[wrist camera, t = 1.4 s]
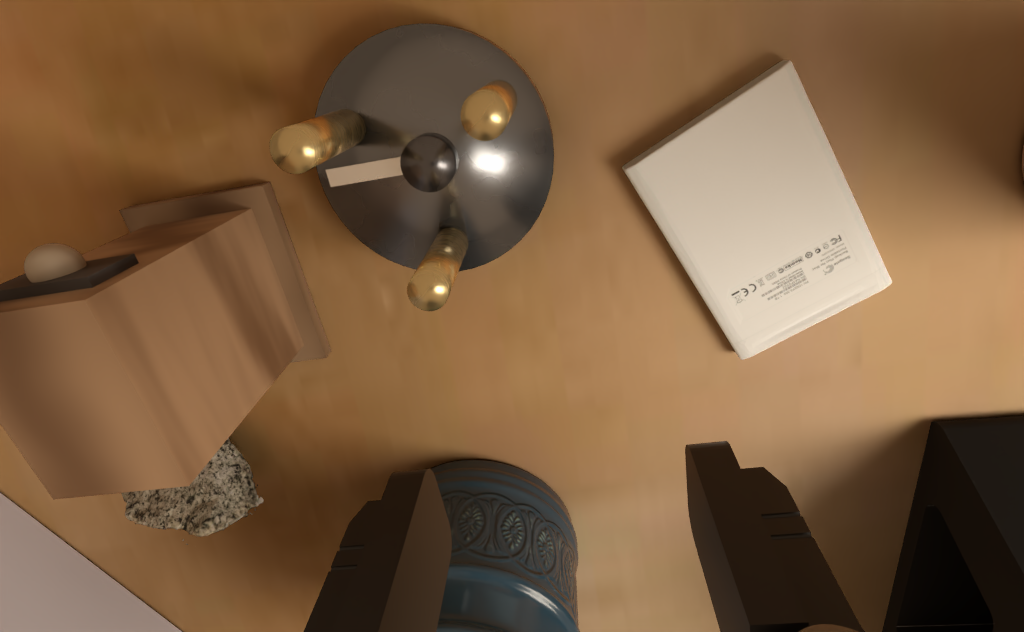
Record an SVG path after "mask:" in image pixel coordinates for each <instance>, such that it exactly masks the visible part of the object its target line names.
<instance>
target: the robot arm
mask: <svg viewBox="0 0 1024 632" xmlns="http://www.w3.org/2000/svg"><path fill="white" fill-rule="evenodd" d="M1021 166H1022V172H1023V179H1024V145H1023V155H1022V165H1021ZM685 455H686V474H687V493H688V509H689V517H690V523H691V528H692V533H693V537H694V541H695V545H696V548H697V552H698V555H699V558H700V562H701V565H702V569H703V572H704V576H705V579H706V583H707V586H708V590H709V593H710V597H711V600H712V604H713V607H714V611H715V614H716V618H717V621H718V624H719V628H720V631H721V632H865V631H864V630H863V628H862V627H861V625H860V624H859V622H858V621H857V619H856V617H855V615H854V613H853V611H852V609H851V608H850V606H849V604H848V602H847V600H846V598H845V596H844V594H843V592H842V591H841V589H840V587H839V585H838V583H837V581H836V579H835V577H834V576H833V574H832V572H831V570H830V568H829V566H828V564H827V562H826V560H825V559H824V557H823V555H822V553H821V551H820V549H819V547H818V545H817V543H816V542H815V540H814V538H812V537H811V532H810V530H809V528H808V526H807V525H806V523H805V521H804V519H803V517H801V516H800V511H799V510H798V508H797V506H796V504H795V502H794V500H793V498H792V496H791V494H790V493H789V491H788V489H787V487H786V486H785V485H784V484H783V483H781V482H780V481H779V480H778V479H777V478H776V477H774V476H773V475H772V474H771V473H770V472H768V471H767V470H766V469H765V468H764V467H758V468H746V469H740V466H739V464H738V462H737V460H736V457H735V455H734V453H733V451H732V448H731V446H730V444H729V443H728V442H727V441H721V442H711V443H701V444H690V445H686V448H685ZM451 550H452V538H451V529H450V524H449V521H448V517H447V514H446V511H445V507H444V504H443V501H442V498H441V494H440V491H439V488H438V484H437V481H436V478H435V475H434V473H433V471H432V470H431V469H422V470H411V471H401V472H394V473H392V475H391V476H390V478H389V481H388V483H387V486H386V489H385V491H384V494H383V497H382V499H381V500H379V501H368V502H367V503H366V504H365V506H364V507H363V508H362V509H361V510H360V511H359V512H358V514H357V515H356V516H355V517H354V518H353V519H352V520H351V522H350V523H349V525H348V528H347V530H346V532H345V535H344V537H343V539H342V542H341V544H340V551H337V554H336V556H335V559H334V561H333V563H332V566H331V568H332V569H331V571H330V572H329V573H328V575H327V578H326V580H325V582H324V585H323V587H322V589H321V592H320V594H319V597H318V599H317V601H316V604H315V606H314V608H313V611H312V613H311V616H310V618H309V620H308V623H307V625H306V628H305V630H304V632H436V631H437V626H438V620H439V615H440V610H441V605H442V600H443V595H444V590H445V585H446V579H447V574H448V569H449V564H450V559H451Z"/></svg>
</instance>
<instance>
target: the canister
mask: <svg viewBox="0 0 1024 632" xmlns="http://www.w3.org/2000/svg"><path fill="white" fill-rule="evenodd" d="M431 470H432V471H433V473H434V475H435V478H436V481H437V484H438V488H439V491H440V494H441V498H442V501H443V504H444V507H445V511H446V514H447V517H448V521H449V524H450V529H451V538H452V550H451V559H450V564H449V569H448V574H447V579H446V585H445V590H444V595H443V600H442V605H441V610H440V615H439V620H438V626H437V631H436V632H580V631H579V628H578V607H577V586H576V571H577V566H578V551H577V539H576V534H575V531H574V528H573V525H572V522H571V518H570V515H569V513H568V510H567V508H566V506H565V505H564V503H563V502H562V500H561V499H560V497H559V496H558V495H557V494H556V493H555V492H554V491H553V490H552V489H551V488H550V487H549V486H548V485H547V484H545V483H544V482H543V481H541V480H540V479H538V478H537V477H535V476H533V475H532V474H530V473H528V472H526V471H524V470H521V469H519V468H516V467H513V466H510V465H507V464H503V463H498V462H493V461H485V460H463V461H455V462H450V463H445V464H442V465H438V466H436V467H433V468H431Z"/></svg>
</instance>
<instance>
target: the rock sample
mask: <svg viewBox="0 0 1024 632" xmlns="http://www.w3.org/2000/svg"><path fill="white" fill-rule="evenodd" d="M252 478H253V474H252V472H251V469H250V465H249V464H248V463H247V462H246V460H245V459H244V458H243V456H242V454H241V453H240V452H239V451H238V450H237V448H236V447H235V445H233V444H231V442H230V440H229V438H228V439H227V440H226V441H225V443H224V444H223V445H222V446H221V447H220V449H219V450H218V451H217V452H216V454H215V455H214V456H213V457H212V458H211V460H210V461H209V462H208V463H207V465H206V466H205V467H204V468H203V470H202V471H201V472H200V473H199V474H198V476H197V477H196V478H195V479H194V481H193V482H192V483H191V484H190V485H189V486H185V487H175V488H165V489H154V490H144V491H134V492H124V493H122V496H123V498H124V501H125V502H126V503H127V505H126V512H125V516H126V517H127V519H128V520H130V521H134V523H135V524H142V525H147V527H152V528H158V529H167V528H173V529H176V530H177V529H180V528H181V529H183V530H185V531H187V532H188V533H189V534H191V535H195V536H199V537H202V536H208V535H210V534H212V533H215V532H218V531H219V530H224V529H225V528H227V527H228V524H229V525H231V524H233V523H234V522H237V521H238V520H239V519H240V518H242V517H247V516H248V513H247V512H248V510H249V509H251V508H252V507H257V506H258V505H259V504H260V503H262V502H263V501H264V500H263V498H262V497H261V496H260V497H261V498H258V495H257V493H256V489H255V483H254V482H253V480H252ZM257 486H258V485H257ZM256 488H257V487H256ZM254 505H255V506H254ZM255 510H256V509H255ZM246 513H247V514H246ZM250 514H251V513H250ZM244 515H245V516H244ZM251 515H252V514H251ZM182 541H184V539H183V540H182ZM187 545H188V544H187Z"/></svg>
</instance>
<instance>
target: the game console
mask: <svg viewBox="0 0 1024 632" xmlns="http://www.w3.org/2000/svg"><path fill="white" fill-rule="evenodd" d="M0 632H182V631H180V630H179V629H178V628H177V627H175V626H174V625H173V624H171V623H170V622H169V621H167V620H166V619H165V618H163V617H162V616H161V615H160V614H158V613H157V612H156V611H154V610H153V609H152V608H150V607H149V606H148V605H146V604H145V603H144V602H142V601H141V600H140V599H139V598H137V597H136V596H135V595H133V594H132V593H131V592H129V591H128V590H127V589H125V588H124V587H123V586H122V585H120V584H119V583H118V582H116V581H115V580H114V579H112V578H111V577H110V576H108V575H107V574H106V573H105V572H103V571H102V570H101V569H99V568H98V567H97V566H95V565H94V564H93V563H91V562H90V561H89V560H88V559H86V558H85V557H84V556H82V555H81V554H80V553H78V552H77V551H76V550H74V549H73V548H72V547H71V546H69V545H68V544H67V543H65V542H64V541H63V540H61V539H60V538H59V537H57V536H56V535H55V534H54V533H52V532H51V531H50V530H48V529H47V528H46V527H44V526H43V525H42V524H40V523H39V522H38V521H37V520H35V519H34V518H33V517H31V516H30V515H29V514H27V513H26V512H25V511H23V510H22V509H21V508H20V507H18V506H17V505H16V504H14V503H13V502H12V501H10V500H9V499H8V498H6V497H5V496H4V495H3V494H1V493H0Z"/></svg>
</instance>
